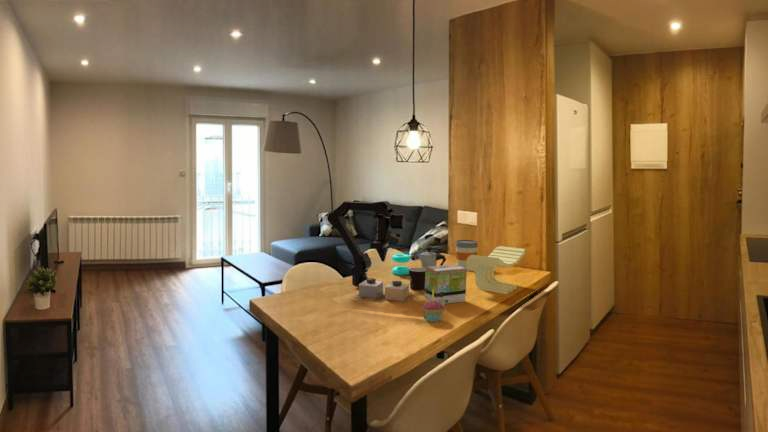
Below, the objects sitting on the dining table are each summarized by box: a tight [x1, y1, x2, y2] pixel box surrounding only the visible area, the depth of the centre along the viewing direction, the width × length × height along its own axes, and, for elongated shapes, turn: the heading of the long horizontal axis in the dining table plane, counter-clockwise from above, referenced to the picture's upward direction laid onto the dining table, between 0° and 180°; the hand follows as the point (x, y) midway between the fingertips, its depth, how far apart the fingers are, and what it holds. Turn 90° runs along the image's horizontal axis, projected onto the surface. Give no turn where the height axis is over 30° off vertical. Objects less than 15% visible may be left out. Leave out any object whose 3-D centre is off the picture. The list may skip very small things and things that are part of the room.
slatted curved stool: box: [466, 245, 526, 295], centre depth 229 cm, size 30×16×18 cm, turn 142°
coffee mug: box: [408, 266, 426, 291], centre depth 225 cm, size 12×9×10 cm
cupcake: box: [421, 290, 446, 323], centre depth 181 cm, size 9×8×12 cm
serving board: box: [353, 291, 414, 304], centre depth 210 cm, size 23×13×1 cm, turn 69°
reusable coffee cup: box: [455, 239, 478, 268], centre depth 275 cm, size 13×13×15 cm
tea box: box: [423, 263, 468, 305], centre depth 207 cm, size 15×10×15 cm, turn 117°
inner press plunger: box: [367, 277, 377, 283], centre depth 212 cm, size 6×6×7 cm
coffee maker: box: [416, 246, 447, 269], centre depth 238 cm, size 15×9×18 cm, turn 68°
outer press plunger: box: [392, 280, 403, 286], centre depth 208 cm, size 6×6×7 cm
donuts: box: [391, 253, 412, 276], centre depth 258 cm, size 10×10×10 cm
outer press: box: [384, 281, 410, 301], centre depth 209 cm, size 8×10×6 cm
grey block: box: [358, 280, 384, 298], centre depth 213 cm, size 8×10×6 cm
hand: (383, 261), depth 226 cm, fingers closed
